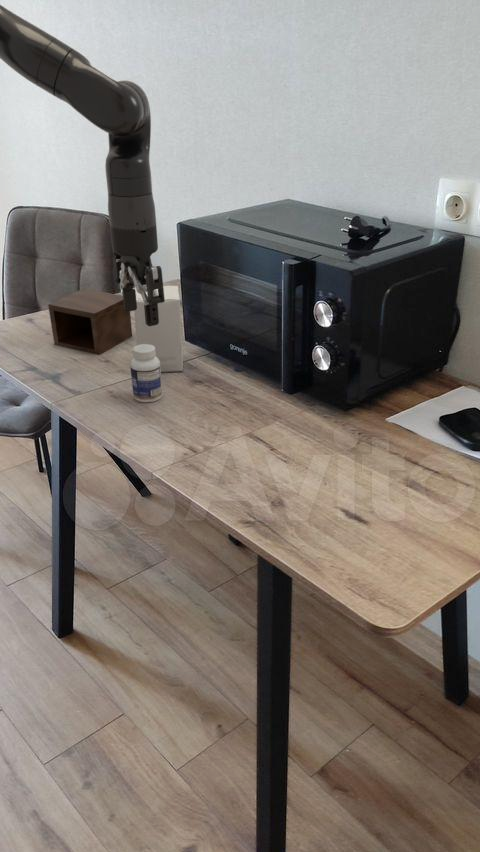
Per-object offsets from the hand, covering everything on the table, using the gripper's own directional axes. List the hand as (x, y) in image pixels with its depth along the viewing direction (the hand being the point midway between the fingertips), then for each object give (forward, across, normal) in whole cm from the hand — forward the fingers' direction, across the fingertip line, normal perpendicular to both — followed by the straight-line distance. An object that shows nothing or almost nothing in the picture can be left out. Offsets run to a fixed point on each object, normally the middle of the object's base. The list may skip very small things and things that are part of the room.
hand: (141, 317), depth 123 cm
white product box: (+16, -12, +9) cm, 22 cm away
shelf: (+15, -32, +2) cm, 35 cm away
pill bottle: (+16, 0, 0) cm, 16 cm away
